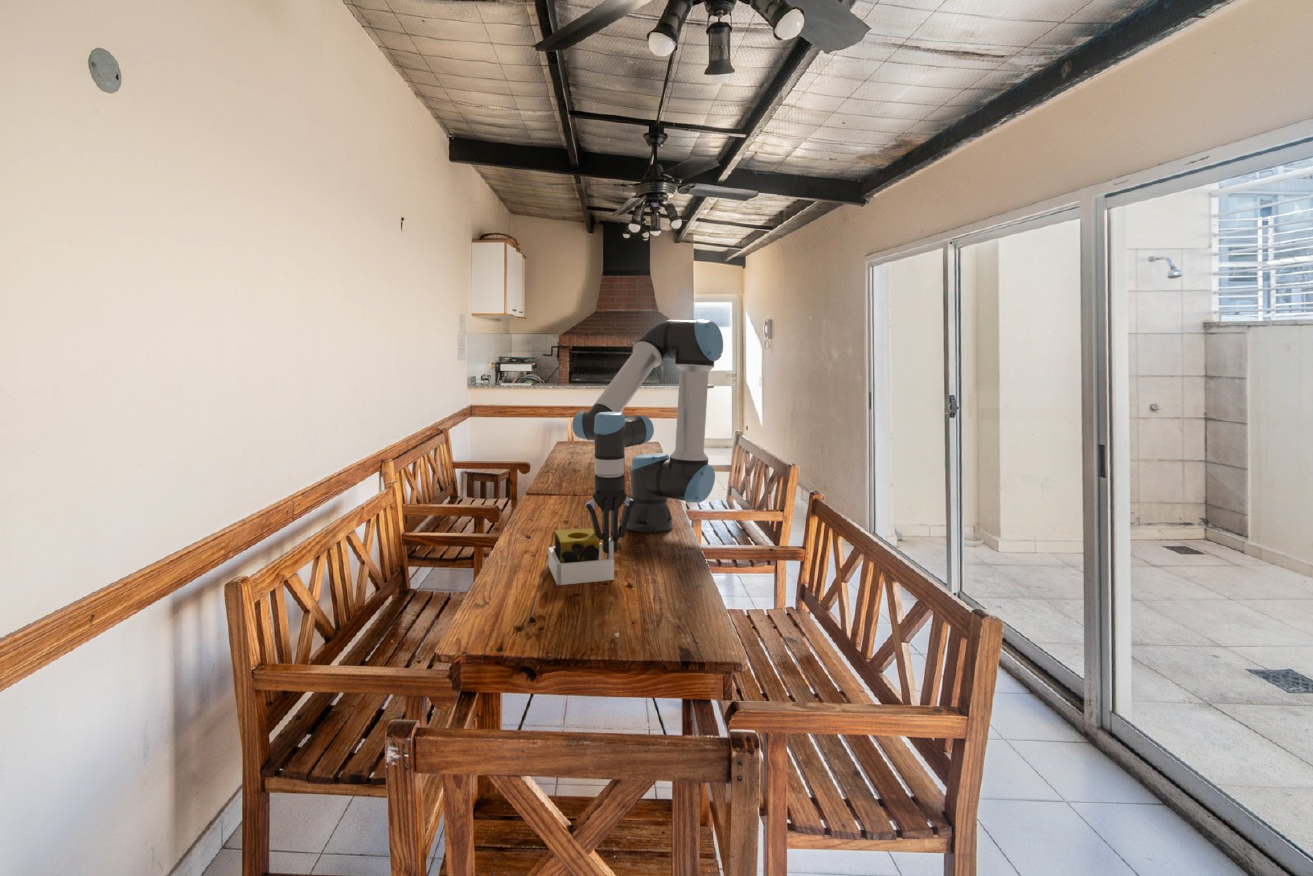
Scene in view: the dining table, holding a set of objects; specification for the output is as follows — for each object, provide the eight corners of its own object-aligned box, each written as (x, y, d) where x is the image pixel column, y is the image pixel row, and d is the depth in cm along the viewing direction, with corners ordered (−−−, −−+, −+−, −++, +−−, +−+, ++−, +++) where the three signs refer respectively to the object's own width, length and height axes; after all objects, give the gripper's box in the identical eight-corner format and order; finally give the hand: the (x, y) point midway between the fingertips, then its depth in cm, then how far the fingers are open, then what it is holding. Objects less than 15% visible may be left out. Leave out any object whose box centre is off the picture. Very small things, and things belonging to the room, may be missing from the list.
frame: (600, 560, 169) (601, 542, 169) (613, 579, 156) (614, 560, 156) (548, 565, 165) (548, 547, 164) (557, 585, 152) (557, 565, 151)
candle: (553, 567, 164) (553, 530, 162) (592, 564, 167) (592, 527, 165) (559, 581, 154) (558, 542, 153) (599, 578, 157) (600, 539, 156)
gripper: (629, 469, 165) (629, 557, 168) (581, 472, 161) (582, 562, 164) (638, 475, 158) (638, 566, 161) (588, 478, 154) (589, 572, 157)
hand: (610, 564), depth 163 cm, fingers closed
